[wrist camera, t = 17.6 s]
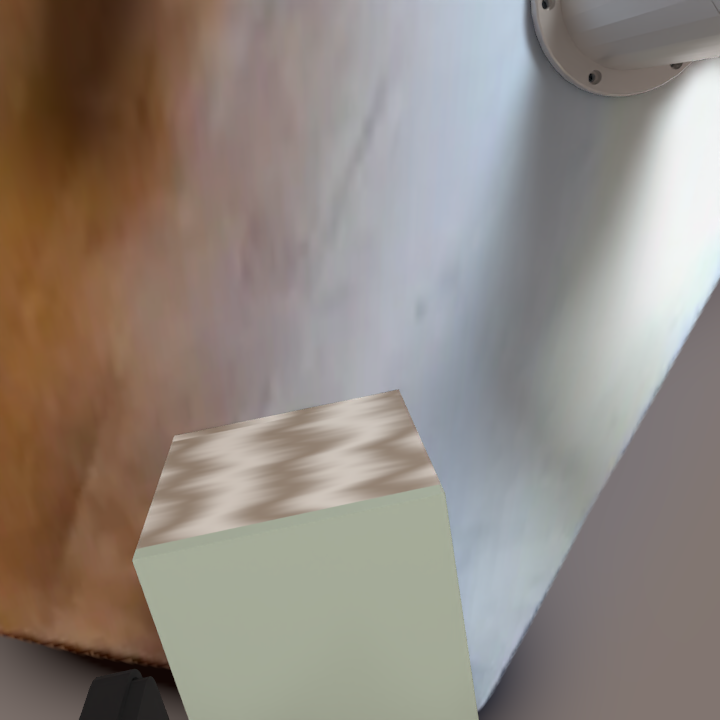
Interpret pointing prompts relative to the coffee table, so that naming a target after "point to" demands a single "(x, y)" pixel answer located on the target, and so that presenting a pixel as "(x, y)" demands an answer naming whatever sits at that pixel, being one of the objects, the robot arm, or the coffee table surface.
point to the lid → (317, 615)
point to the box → (287, 467)
